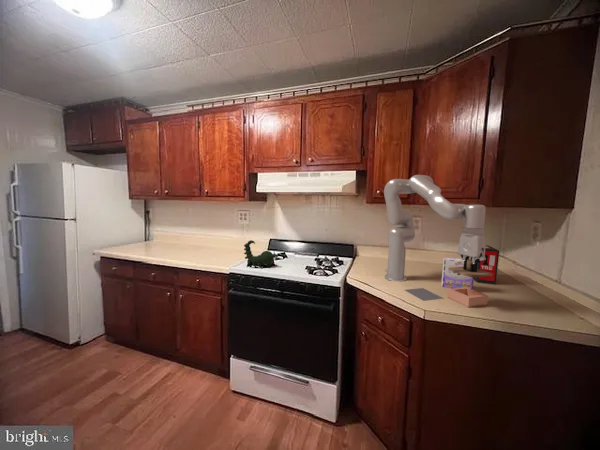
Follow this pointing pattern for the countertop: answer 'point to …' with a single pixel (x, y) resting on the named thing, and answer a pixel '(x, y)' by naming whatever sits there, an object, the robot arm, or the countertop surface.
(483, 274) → the lid
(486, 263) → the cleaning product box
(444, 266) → the candy box
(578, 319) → the countertop surface
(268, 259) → the toy figurine
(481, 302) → the pink square tray
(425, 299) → the grey flat piece
